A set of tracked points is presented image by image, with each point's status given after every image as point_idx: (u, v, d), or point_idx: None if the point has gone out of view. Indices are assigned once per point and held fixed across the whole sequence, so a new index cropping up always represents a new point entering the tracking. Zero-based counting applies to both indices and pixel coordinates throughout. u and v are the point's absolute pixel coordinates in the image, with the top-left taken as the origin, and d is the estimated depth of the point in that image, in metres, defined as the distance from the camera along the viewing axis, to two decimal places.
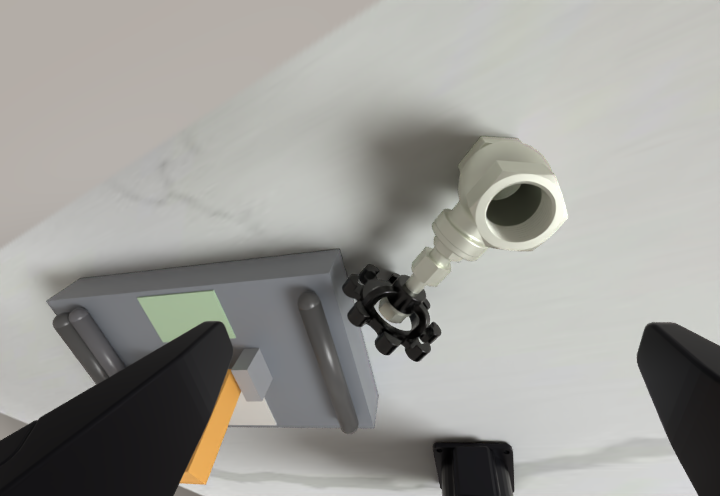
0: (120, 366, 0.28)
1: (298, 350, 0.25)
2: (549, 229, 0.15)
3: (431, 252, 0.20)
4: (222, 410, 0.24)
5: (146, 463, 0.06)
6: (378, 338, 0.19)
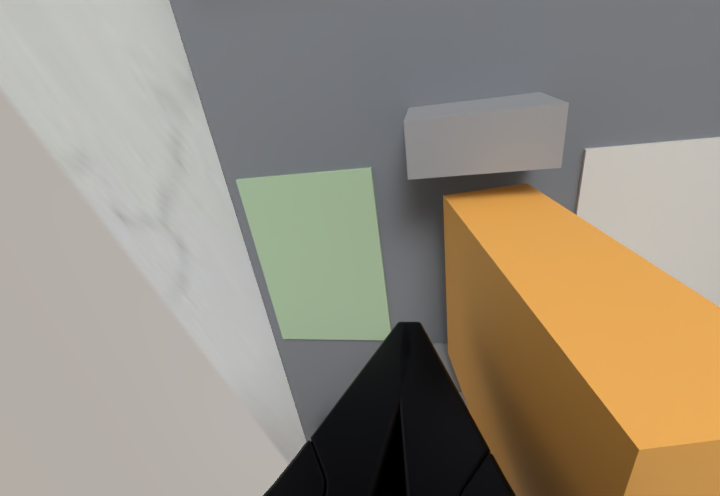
0: None
1: None
2: None
3: None
4: (524, 234, 0.06)
5: (402, 487, 0.06)
6: None
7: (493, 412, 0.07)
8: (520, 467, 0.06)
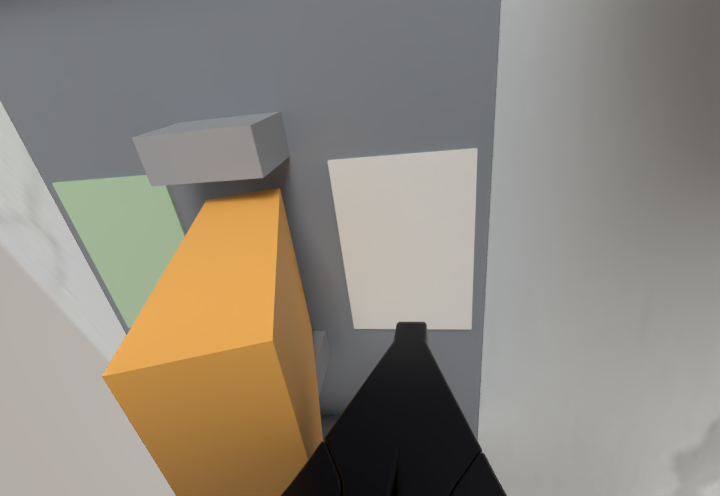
0: None
1: None
2: None
3: None
4: (222, 231, 0.08)
5: None
6: None
7: None
8: None
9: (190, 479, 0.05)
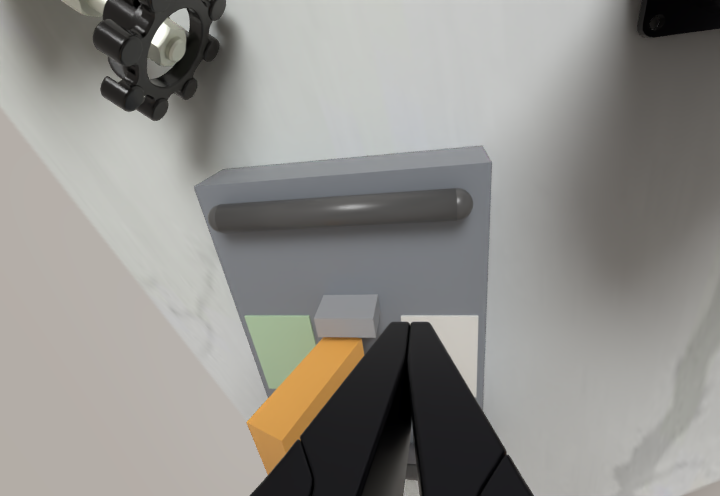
0: None
1: (321, 248, 0.18)
2: None
3: None
4: (315, 364, 0.18)
5: (392, 486, 0.06)
6: None
7: None
8: None
9: (264, 457, 0.16)
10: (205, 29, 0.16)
